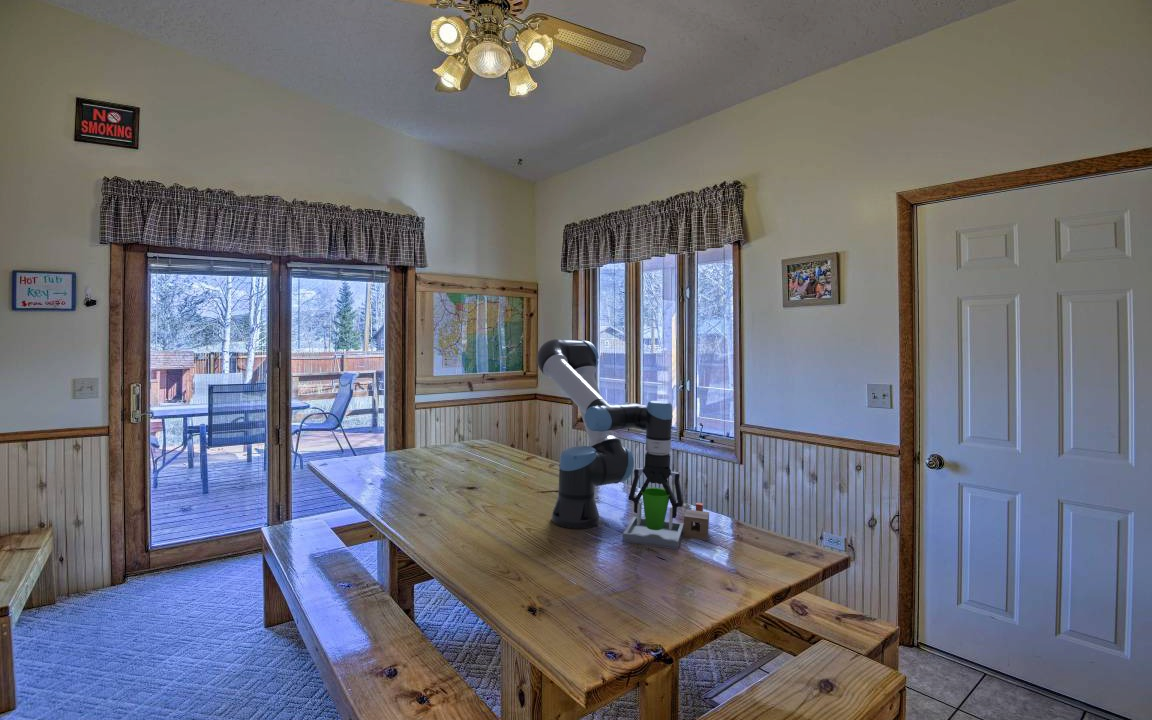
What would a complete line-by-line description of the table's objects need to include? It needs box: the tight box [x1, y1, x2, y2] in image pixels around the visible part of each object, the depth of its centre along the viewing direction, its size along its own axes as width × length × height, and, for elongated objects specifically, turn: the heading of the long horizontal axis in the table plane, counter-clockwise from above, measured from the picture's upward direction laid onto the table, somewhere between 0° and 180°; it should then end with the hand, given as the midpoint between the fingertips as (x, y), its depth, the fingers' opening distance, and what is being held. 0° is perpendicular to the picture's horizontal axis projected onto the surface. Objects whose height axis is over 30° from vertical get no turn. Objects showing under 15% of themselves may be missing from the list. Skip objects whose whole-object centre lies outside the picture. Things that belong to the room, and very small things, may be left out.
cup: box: [641, 487, 670, 530], centre depth 164 cm, size 9×9×11 cm
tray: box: [622, 516, 684, 550], centre depth 165 cm, size 16×16×2 cm
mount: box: [682, 508, 710, 541], centre depth 167 cm, size 7×7×6 cm
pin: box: [693, 502, 704, 524], centre depth 174 cm, size 10×2×5 cm, turn 163°
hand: (654, 525), depth 165 cm, fingers closed on cup, 9 cm apart
